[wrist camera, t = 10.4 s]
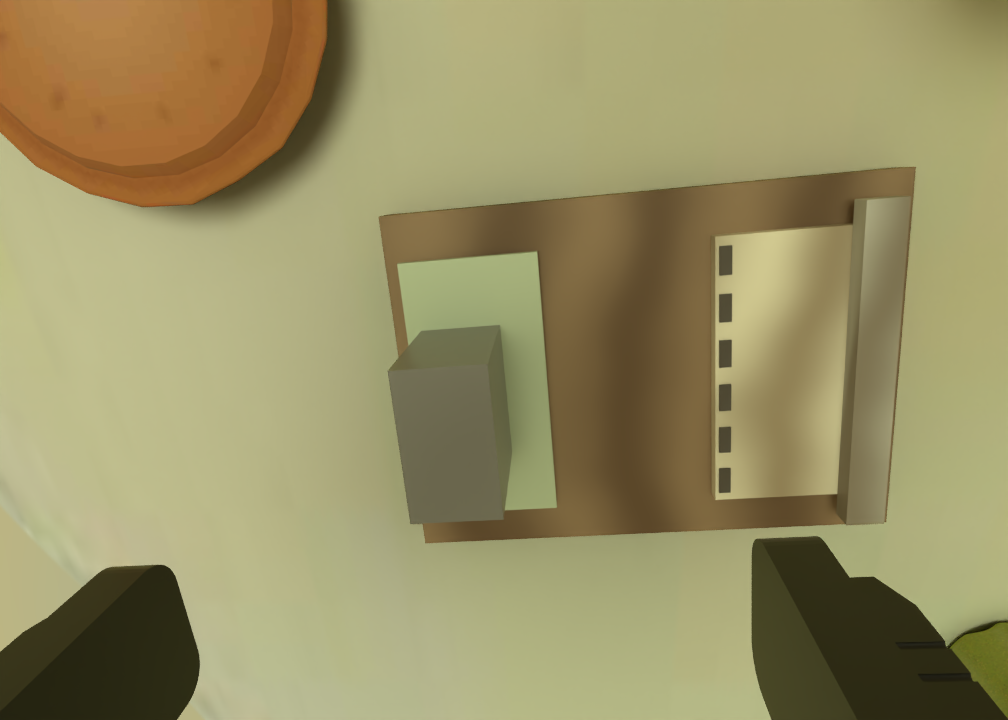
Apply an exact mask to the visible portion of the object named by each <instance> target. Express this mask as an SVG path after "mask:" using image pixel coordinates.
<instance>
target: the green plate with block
mask: <svg viewBox="0 0 1008 720" xmlns="http://www.w3.org/2000/svg"><path fill="white" fill-rule="evenodd" d="M397 267H398V274H399V281H400V289H401V296H402V303H403V310H404V317H405V325H406V332H407V339H408V347H407V348H406V350H405V351H404V352H403V353H402V354H401V356H400V357H399V358H398V359H397V360H396V362H395V363H394V364H393V365H392V367H391V368H390V369H389V370H388V376H389V383H390V390H391V396H392V403H393V410H394V416H395V423H396V430H397V437H398V443H399V450H400V457H401V463H402V470H403V477H404V483H405V490H406V497H407V503H408V510H409V517H410V524H423V523H444V522H465V521H485V520H504V513H505V510H522V509H542V508H557V501H556V488H555V475H554V462H553V449H552V436H551V423H550V410H549V397H548V384H547V371H546V358H545V345H544V332H543V319H542V306H541V293H540V280H539V267H538V254H537V251H530V252H519V253H507V254H495V255H484V256H472V257H461V258H449V259H437V260H426V261H414V262H402V263H398V264H397Z"/></svg>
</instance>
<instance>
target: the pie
mask: <svg viewBox="0 0 1008 720" xmlns="http://www.w3.org/2000/svg"><path fill="white" fill-rule="evenodd" d="M326 42H327V0H0V132H1V133H2V134H3V135H4V136H5V137H6V138H7V139H8V140H9V141H10V142H11V143H12V144H13V145H14V146H15V147H16V148H17V149H19V150H20V151H21V152H22V153H23V154H24V155H25V156H26V157H27V158H28V159H29V160H30V161H31V162H32V163H33V164H34V165H35V166H37V167H38V168H40V169H42V170H44V171H46V172H48V173H50V174H52V175H54V176H56V177H58V178H59V179H61V180H63V181H65V182H67V183H69V184H71V185H73V186H75V187H77V188H79V189H80V190H82V191H84V192H86V193H89V194H93V195H96V196H100V197H104V198H108V199H112V200H116V201H120V202H124V203H128V204H132V205H136V206H140V207H155V206H173V205H191V204H195V203H197V202H199V201H201V200H203V199H204V198H206V197H208V196H210V195H212V194H214V193H216V192H218V191H220V190H222V189H224V188H226V187H228V186H229V185H231V184H233V183H235V182H237V181H239V180H240V179H242V178H243V177H244V176H246V175H247V174H248V173H250V172H251V171H252V170H254V169H255V168H256V167H258V166H259V165H260V164H262V163H263V162H264V161H266V160H267V159H268V158H270V157H271V156H272V155H274V154H275V153H276V152H278V151H279V150H280V149H282V148H283V146H284V144H285V143H286V141H287V139H288V138H289V136H290V134H291V132H292V131H293V129H294V127H295V126H296V124H297V122H298V121H299V119H300V117H301V116H302V114H303V112H304V111H305V109H306V107H307V106H308V104H309V102H310V101H311V98H312V95H313V91H314V87H315V83H316V80H317V76H318V72H319V68H320V65H321V61H322V57H323V53H324V50H325V46H326Z"/></svg>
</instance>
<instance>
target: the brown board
mask: <svg viewBox="0 0 1008 720" xmlns="http://www.w3.org/2000/svg"><path fill="white" fill-rule="evenodd" d="M915 169H916V167H898V168H886V169H875V170H864V171H853V172H843V173H832V174H821V175H811V176H800V177H789V178H778V179H768V180H757V181H746V182H735V183H725V184H714V185H703V186H692V187H682V188H671V189H660V190H649V191H639V192H628V193H617V194H606V195H596V196H585V197H574V198H563V199H553V200H542V201H531V202H520V203H510V204H499V205H488V206H477V207H467V208H456V209H445V210H434V211H424V212H413V213H402V214H391V215H384V216H380V217H379V223H380V230H381V237H382V244H383V251H384V258H385V265H386V272H387V279H388V286H389V293H390V300H391V306H392V313H393V320H394V327H395V334H396V341H397V348H398V355H399V357H400V356H401V354H402V353H403V352H404V351H405V350H406V348H407V347H408V339H407V332H406V325H405V317H404V310H403V303H402V296H401V289H400V281H399V274H398V267H397V264H398V263H402V262H414V261H426V260H437V259H449V258H461V257H472V256H484V255H495V254H507V253H519V252H530V251H537V254H538V267H539V280H540V293H541V306H542V319H543V332H544V345H545V358H546V371H547V384H548V397H549V410H550V423H551V436H552V449H553V462H554V475H555V488H556V501H557V508H542V509H522V510H505V513H504V520H485V521H465V522H444V523H423V529H424V536H425V543H438V542H461V541H483V540H505V539H527V538H549V537H571V536H593V535H615V534H637V533H659V532H681V531H703V530H725V529H747V528H769V527H791V526H813V525H835V524H846V525H861V524H883V523H884V522H886V517H887V505H888V493H889V481H890V469H891V457H892V445H893V433H894V421H895V409H896V397H897V385H898V373H899V361H900V349H901V337H902V325H903V313H904V301H905V289H906V277H907V265H908V253H909V241H910V229H911V217H912V205H913V193H914V181H915Z"/></svg>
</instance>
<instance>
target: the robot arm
mask: <svg viewBox="0 0 1008 720" xmlns="http://www.w3.org/2000/svg"><path fill="white" fill-rule="evenodd" d="M752 650H753V658H754V664H755V670H756V674H757V679H758V683H759V686H760V690H761V693H762V696H763V698H764V701H765V704H766V706H767V709H768V712H769V714H770V717H771V719H772V720H1008V718H1007V717H1006V716H1005V714H1004V713H1003V712H1002V711H1001V710H1000V708H999V707H998V706H997V705H996V703H995V702H994V701H993V700H992V698H991V697H990V696H989V695H988V694H987V692H986V691H985V690H984V689H983V687H982V686H981V685H980V684H979V682H978V681H973V680H972V678H971V673H970V671H969V670H968V669H967V668H966V666H965V665H964V664H963V663H962V661H961V660H960V659H959V658H958V657H957V655H956V654H955V653H954V652H953V650H952V649H947V647H946V645H945V641H944V639H943V638H942V637H941V636H940V634H939V633H938V632H937V631H936V629H935V628H934V627H933V626H932V625H931V623H930V622H929V621H928V620H927V618H926V617H925V616H924V615H923V613H922V612H921V611H920V610H919V608H918V607H917V606H916V605H915V604H913V603H912V602H910V601H909V600H907V599H906V598H904V597H903V596H901V595H900V594H898V593H897V592H896V591H894V590H893V589H891V588H890V587H888V586H887V585H885V584H884V583H882V582H881V581H879V580H878V579H876V578H875V577H854V578H849V576H848V575H847V573H846V572H845V570H844V569H843V568H842V566H841V565H840V563H839V562H838V560H837V559H836V558H835V556H834V555H833V553H832V552H831V551H830V549H829V548H828V546H827V545H826V543H825V542H824V541H823V540H822V539H821V538H820V537H817V536H813V537H791V538H769V539H756V540H755V541H754V543H753V547H752ZM199 669H200V659H199V653H198V649H197V645H196V642H195V639H194V636H193V632H192V629H191V626H190V622H189V619H188V616H187V612H186V609H185V606H184V603H183V599H182V596H181V593H180V589H179V586H178V583H177V580H176V577H175V575H174V573H173V572H172V570H171V569H170V568H168V567H167V566H164V565H144V566H122V567H110V568H106V569H104V570H102V571H101V572H100V573H98V574H97V575H96V576H95V577H94V578H92V579H91V580H90V581H89V582H88V583H87V584H86V585H84V586H83V587H82V588H81V589H80V590H79V591H78V592H76V593H75V594H74V595H73V596H72V597H71V598H69V599H68V600H67V601H66V602H65V603H64V604H63V605H62V606H60V607H59V608H58V609H57V610H56V611H55V612H53V613H52V614H51V615H50V616H49V617H48V618H46V619H45V620H43V621H41V622H40V623H38V624H36V625H34V626H33V627H31V628H30V629H28V630H26V631H25V632H23V633H22V634H21V635H20V636H19V637H17V638H16V639H15V640H14V641H12V642H11V643H10V644H9V645H8V646H7V647H5V648H4V649H3V650H2V651H1V652H0V720H177V719H178V717H179V716H180V715H181V713H182V712H183V710H184V709H185V707H186V706H187V704H188V703H189V701H190V700H191V698H192V695H193V693H194V691H195V688H196V685H197V681H198V676H199Z"/></svg>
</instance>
